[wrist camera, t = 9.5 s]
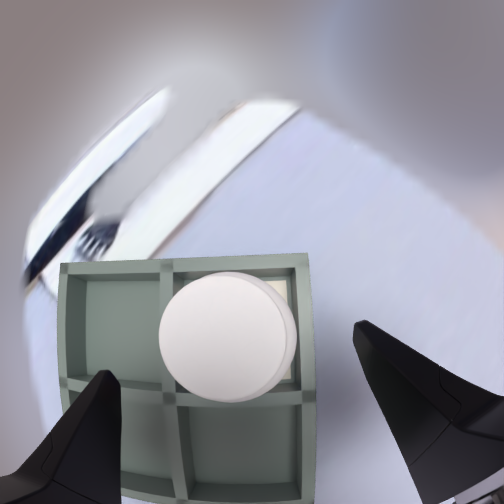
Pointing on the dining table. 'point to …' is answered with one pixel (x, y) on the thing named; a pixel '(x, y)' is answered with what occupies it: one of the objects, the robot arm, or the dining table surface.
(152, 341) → the divided tray
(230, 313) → the pill bottle
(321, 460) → the dining table surface
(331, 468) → the dining table surface
